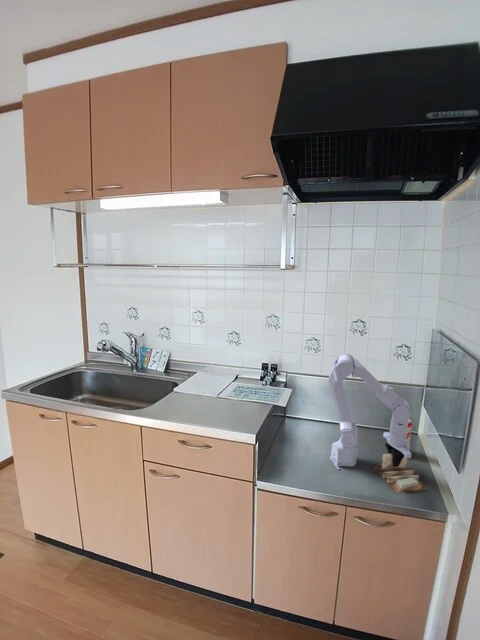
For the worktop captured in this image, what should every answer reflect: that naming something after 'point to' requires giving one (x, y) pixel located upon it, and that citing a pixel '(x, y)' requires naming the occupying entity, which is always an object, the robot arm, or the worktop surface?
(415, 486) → the block
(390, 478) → the rack
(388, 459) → the tan wooden block
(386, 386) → the robot arm
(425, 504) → the worktop surface
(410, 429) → the beer can
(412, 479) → the offcut top
